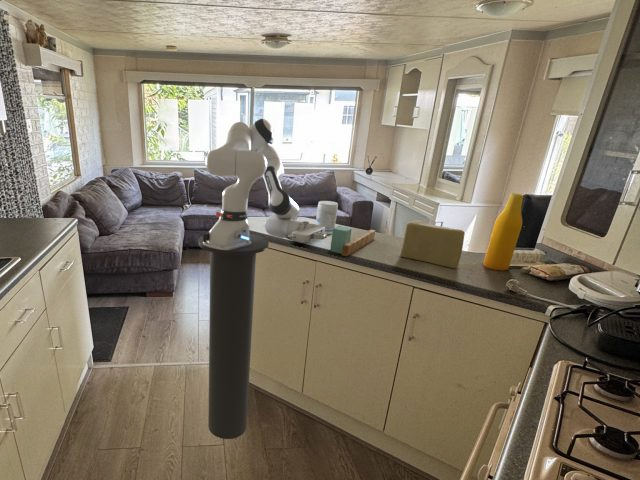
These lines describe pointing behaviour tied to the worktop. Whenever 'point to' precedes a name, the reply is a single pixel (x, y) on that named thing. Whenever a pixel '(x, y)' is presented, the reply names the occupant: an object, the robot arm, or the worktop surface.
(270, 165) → the robot arm
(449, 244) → the cheese
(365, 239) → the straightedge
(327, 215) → the supplement tub
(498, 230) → the beer bottle
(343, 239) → the teal block
